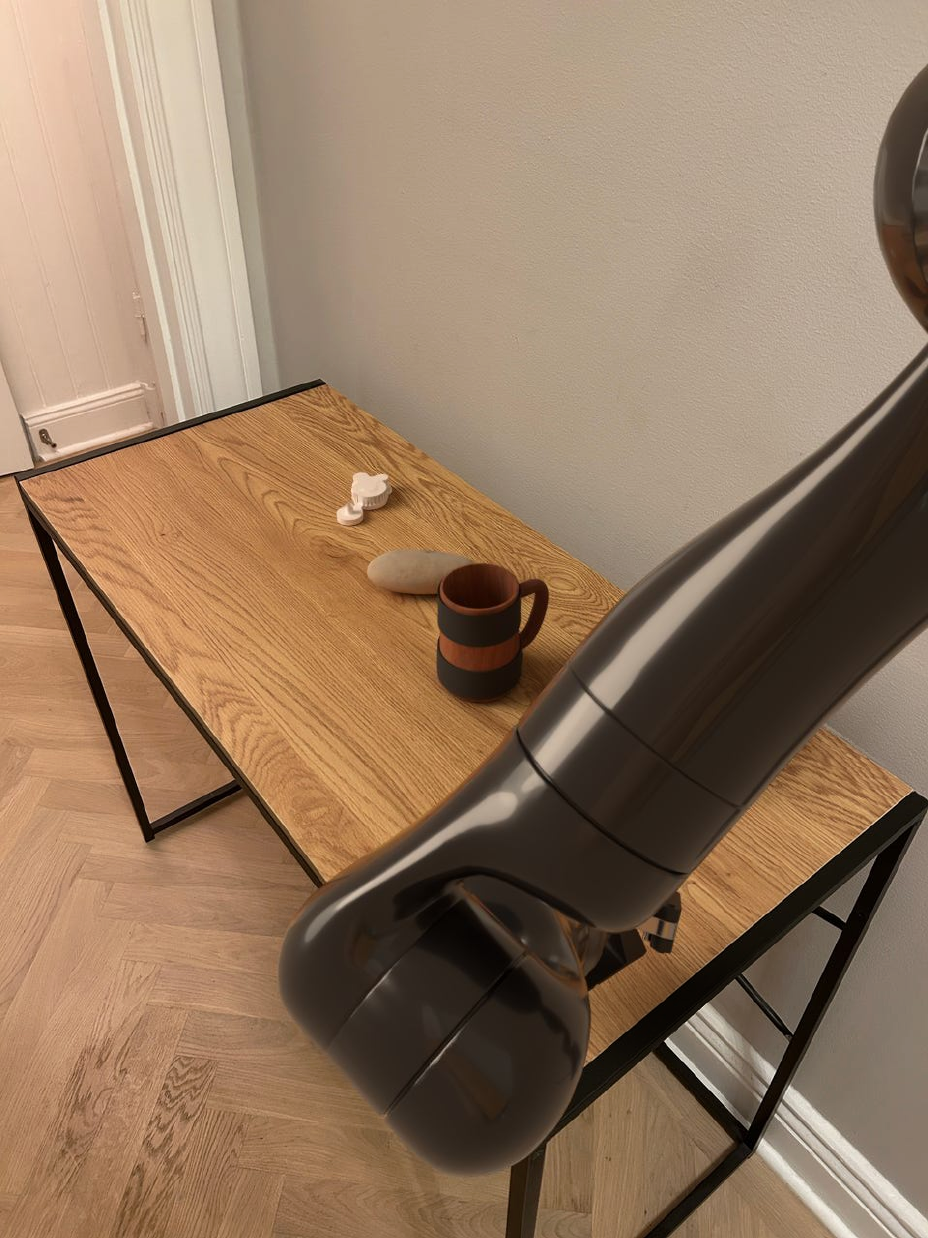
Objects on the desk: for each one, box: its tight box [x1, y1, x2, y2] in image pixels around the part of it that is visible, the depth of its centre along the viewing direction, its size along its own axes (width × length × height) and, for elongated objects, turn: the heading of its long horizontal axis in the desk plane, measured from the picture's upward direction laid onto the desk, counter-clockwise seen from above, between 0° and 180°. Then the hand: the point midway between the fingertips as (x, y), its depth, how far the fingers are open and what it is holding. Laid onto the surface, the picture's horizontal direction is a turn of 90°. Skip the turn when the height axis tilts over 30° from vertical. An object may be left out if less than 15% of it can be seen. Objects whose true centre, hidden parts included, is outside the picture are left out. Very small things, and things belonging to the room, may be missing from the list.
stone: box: [366, 548, 475, 595], centre depth 105 cm, size 6×6×12 cm
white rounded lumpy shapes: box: [336, 471, 393, 527], centre depth 119 cm, size 9×9×2 cm
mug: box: [436, 562, 550, 704], centre depth 92 cm, size 9×12×12 cm
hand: (583, 869), depth 63 cm, fingers closed on phone stand, 6 cm apart
